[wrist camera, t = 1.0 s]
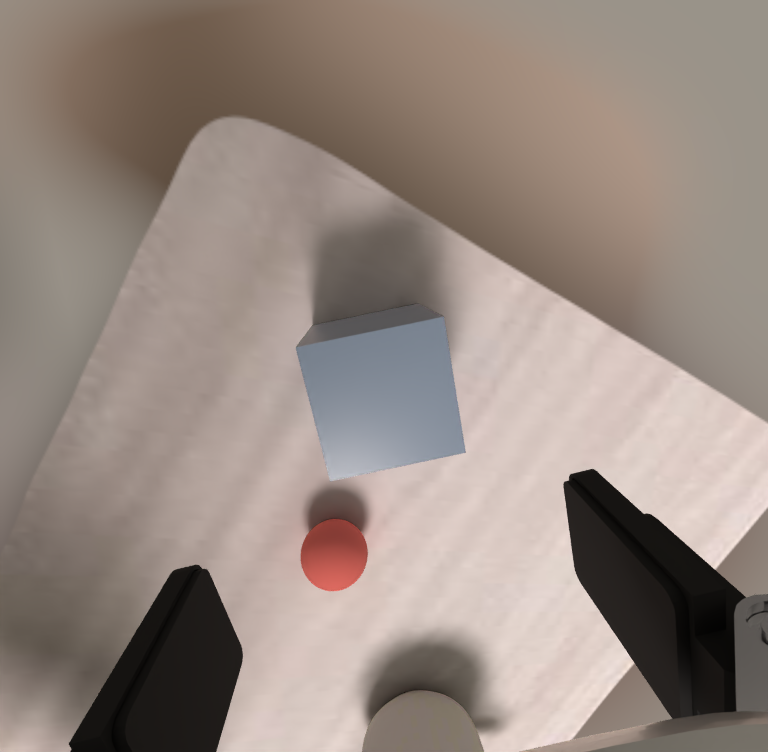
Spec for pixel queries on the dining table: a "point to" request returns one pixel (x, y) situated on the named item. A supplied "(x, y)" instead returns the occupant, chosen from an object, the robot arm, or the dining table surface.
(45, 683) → the dining table surface
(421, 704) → the teacup
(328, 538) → the ball
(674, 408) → the dining table surface
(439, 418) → the pale blue cube
